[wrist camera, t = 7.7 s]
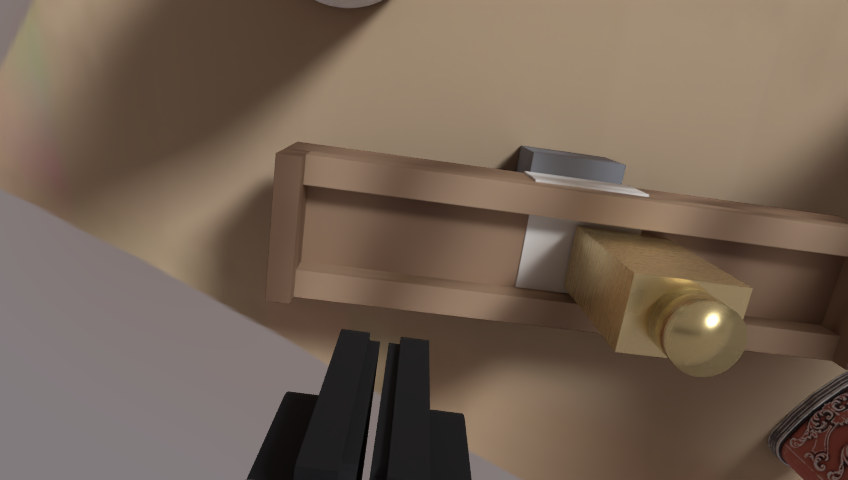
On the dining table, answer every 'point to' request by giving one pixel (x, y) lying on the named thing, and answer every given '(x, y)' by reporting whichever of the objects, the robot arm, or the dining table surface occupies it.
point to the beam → (534, 241)
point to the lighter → (816, 434)
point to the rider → (658, 299)
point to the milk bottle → (348, 3)
